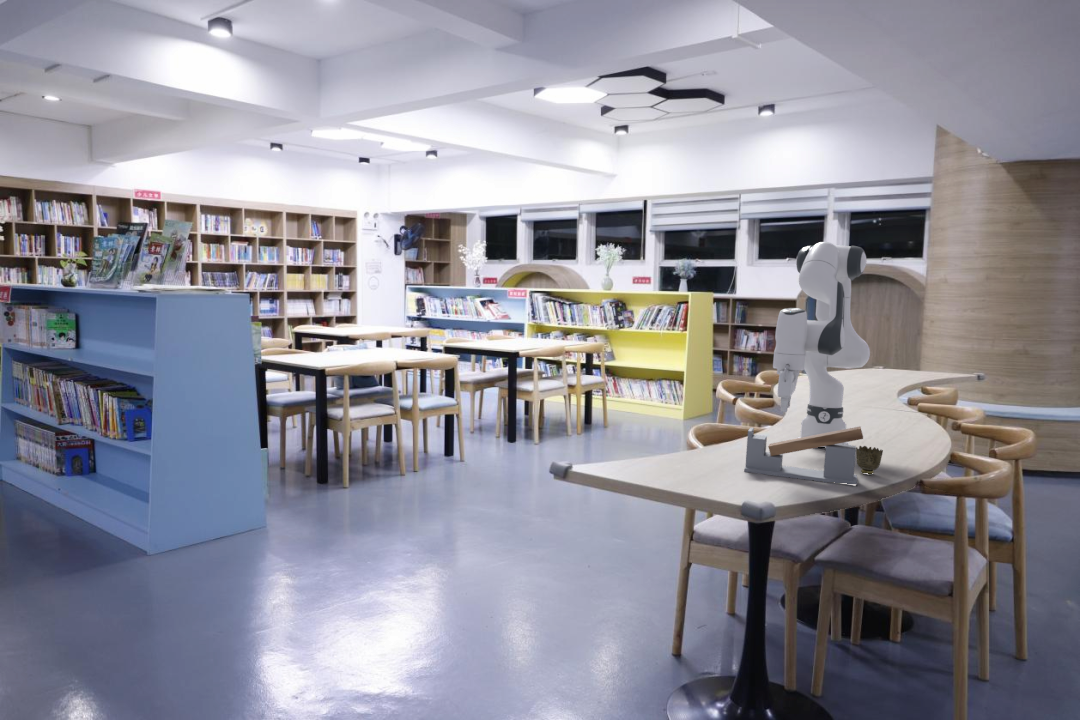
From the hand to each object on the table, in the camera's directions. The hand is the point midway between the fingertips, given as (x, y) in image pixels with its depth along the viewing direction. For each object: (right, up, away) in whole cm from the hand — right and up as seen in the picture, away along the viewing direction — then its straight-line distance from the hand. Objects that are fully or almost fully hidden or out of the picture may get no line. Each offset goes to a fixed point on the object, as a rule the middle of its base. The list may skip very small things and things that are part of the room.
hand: (785, 409), depth 219 cm
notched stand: (+4, -19, 0) cm, 20 cm away
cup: (+26, -20, +4) cm, 33 cm away
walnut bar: (+8, -15, -2) cm, 17 cm away
